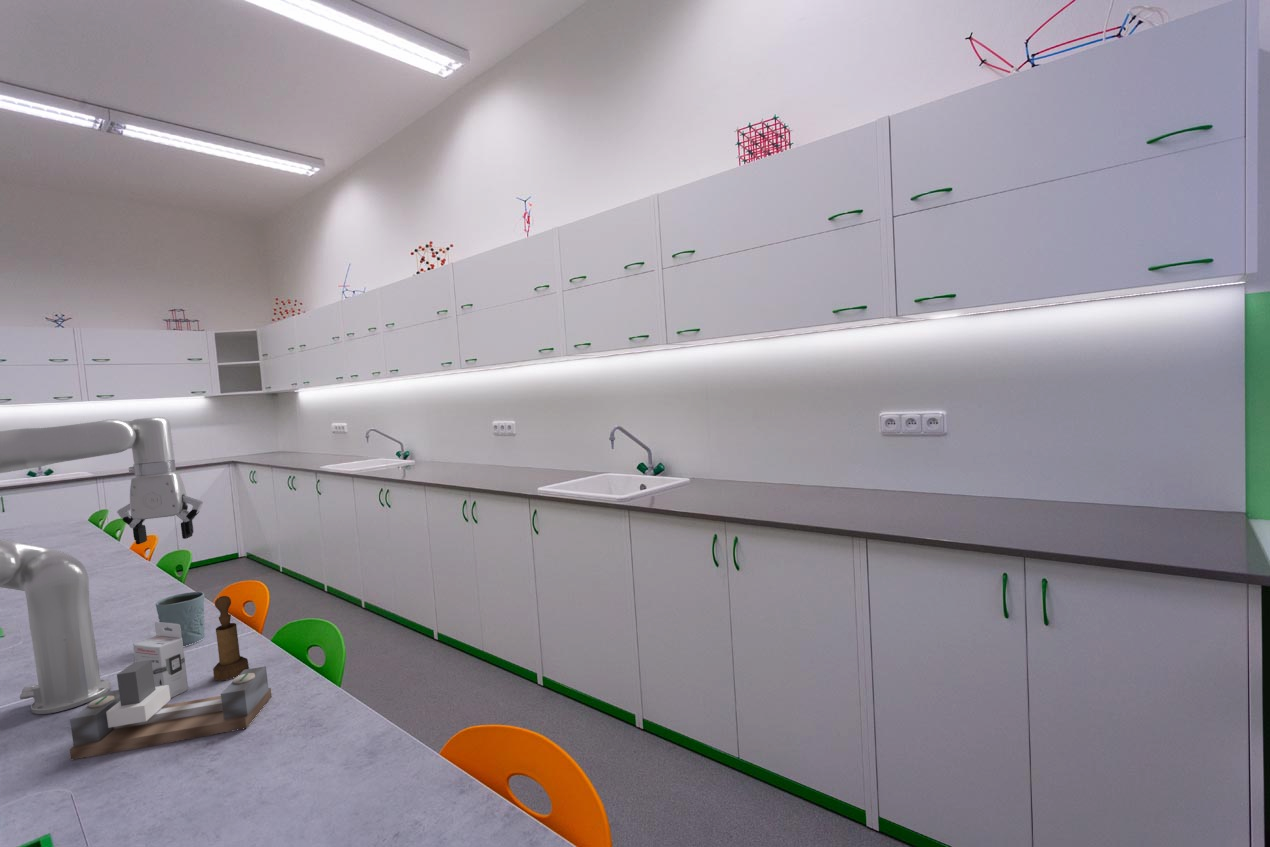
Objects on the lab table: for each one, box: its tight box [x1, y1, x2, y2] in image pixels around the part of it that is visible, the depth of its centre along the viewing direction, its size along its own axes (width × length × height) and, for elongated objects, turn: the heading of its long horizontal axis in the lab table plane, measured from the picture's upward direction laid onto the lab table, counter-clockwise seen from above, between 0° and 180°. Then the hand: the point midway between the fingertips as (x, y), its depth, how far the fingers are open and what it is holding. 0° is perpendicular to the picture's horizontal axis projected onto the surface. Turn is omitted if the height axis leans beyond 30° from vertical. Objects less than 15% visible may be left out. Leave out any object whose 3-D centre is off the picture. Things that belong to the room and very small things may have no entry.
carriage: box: [106, 660, 172, 728], centre depth 111 cm, size 6×8×9 cm
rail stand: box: [69, 666, 273, 760], centre depth 113 cm, size 28×12×8 cm, turn 102°
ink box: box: [132, 621, 189, 699], centre depth 127 cm, size 9×5×15 cm, turn 71°
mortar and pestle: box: [212, 595, 250, 682], centre depth 134 cm, size 7×6×18 cm
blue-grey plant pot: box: [155, 591, 205, 646], centre depth 156 cm, size 10×10×12 cm
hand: (164, 540), depth 141 cm, fingers open, 9 cm apart
